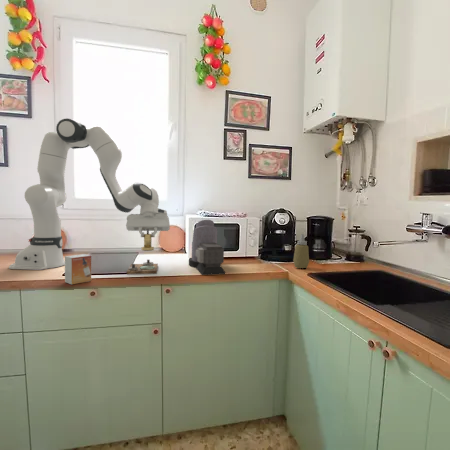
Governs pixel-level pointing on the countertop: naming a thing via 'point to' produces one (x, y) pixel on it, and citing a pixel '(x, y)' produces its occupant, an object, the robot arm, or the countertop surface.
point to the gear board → (143, 268)
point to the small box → (77, 268)
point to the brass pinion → (147, 242)
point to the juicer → (206, 249)
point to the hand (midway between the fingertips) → (147, 236)
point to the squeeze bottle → (301, 253)
